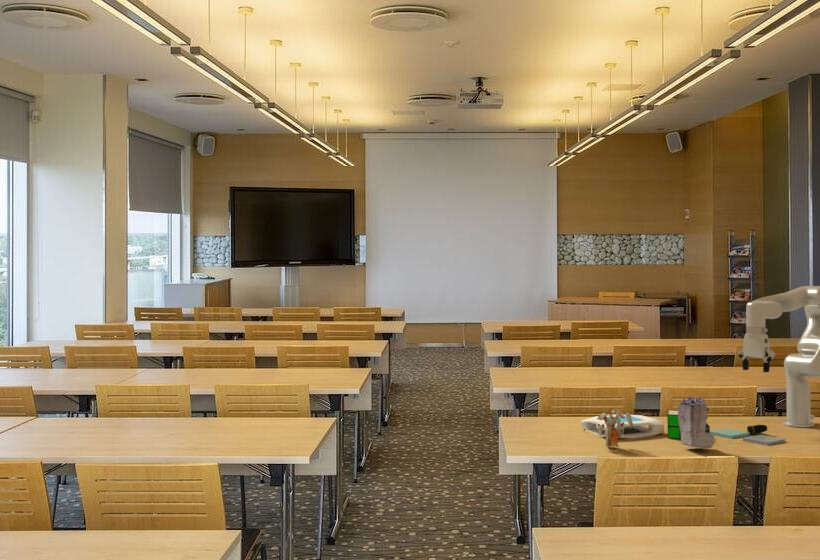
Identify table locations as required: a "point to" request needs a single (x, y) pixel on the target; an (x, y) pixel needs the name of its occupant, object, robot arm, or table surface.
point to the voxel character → (613, 427)
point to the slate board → (764, 439)
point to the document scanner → (637, 421)
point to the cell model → (694, 423)
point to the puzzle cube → (673, 425)
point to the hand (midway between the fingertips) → (755, 370)
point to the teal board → (729, 433)
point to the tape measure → (756, 429)
